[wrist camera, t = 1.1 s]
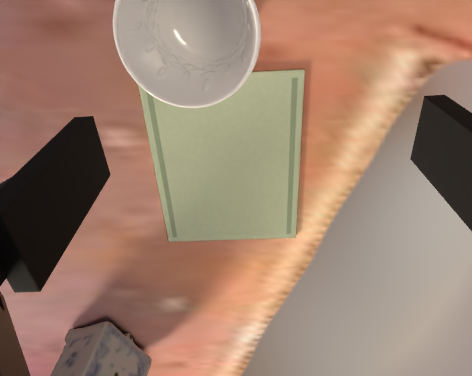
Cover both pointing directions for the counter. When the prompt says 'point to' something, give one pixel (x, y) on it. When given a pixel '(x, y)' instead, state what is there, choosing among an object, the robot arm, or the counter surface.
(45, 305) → the counter surface
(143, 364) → the incense holder
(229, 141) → the napkin
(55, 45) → the counter surface
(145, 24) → the white cup
